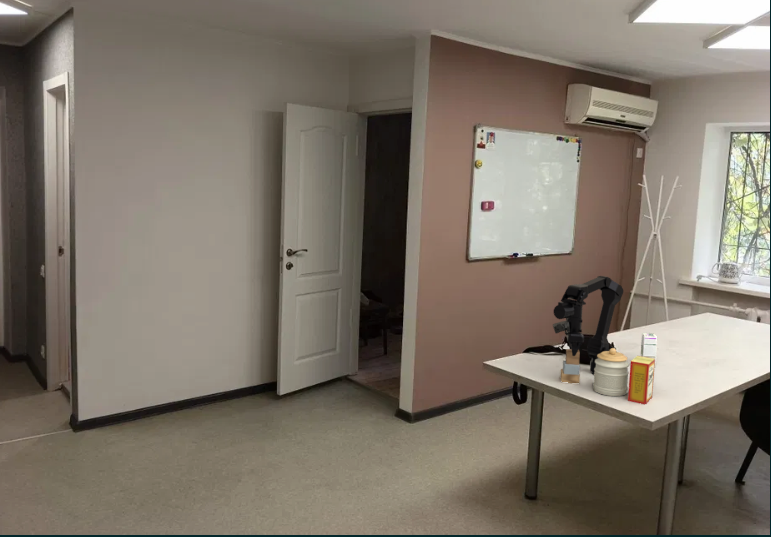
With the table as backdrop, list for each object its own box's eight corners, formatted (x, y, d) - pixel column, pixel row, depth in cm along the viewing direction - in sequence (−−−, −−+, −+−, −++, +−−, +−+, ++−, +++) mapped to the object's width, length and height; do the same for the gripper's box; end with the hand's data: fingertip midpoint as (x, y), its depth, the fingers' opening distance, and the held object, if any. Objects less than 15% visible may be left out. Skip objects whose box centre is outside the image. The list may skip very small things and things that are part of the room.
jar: (600, 383, 261) (602, 342, 259) (632, 390, 253) (635, 347, 251) (587, 391, 252) (590, 348, 249) (620, 399, 243) (623, 354, 241)
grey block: (577, 370, 266) (577, 361, 266) (579, 374, 261) (579, 365, 260) (562, 369, 267) (563, 360, 267) (564, 374, 262) (564, 364, 261)
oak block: (577, 379, 268) (578, 370, 267) (579, 384, 261) (579, 375, 260) (560, 377, 269) (560, 368, 268) (561, 383, 262) (562, 374, 262)
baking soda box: (645, 404, 238) (648, 363, 236) (627, 400, 242) (630, 360, 239) (652, 397, 246) (655, 357, 243) (634, 394, 249) (637, 354, 247)
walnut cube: (565, 360, 267) (566, 349, 266) (578, 361, 266) (578, 349, 265) (566, 364, 262) (566, 352, 261) (578, 364, 261) (579, 353, 260)
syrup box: (655, 368, 283) (658, 336, 281) (641, 367, 284) (644, 335, 282) (653, 364, 288) (655, 333, 286) (639, 363, 290) (641, 332, 287)
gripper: (552, 310, 271) (551, 345, 273) (556, 320, 253) (554, 357, 255) (579, 311, 269) (577, 347, 271) (585, 321, 251) (582, 359, 253)
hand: (572, 352), depth 263 cm, fingers open, 9 cm apart
